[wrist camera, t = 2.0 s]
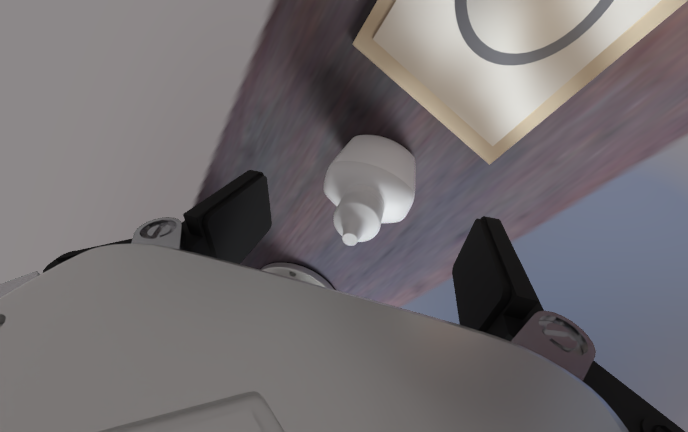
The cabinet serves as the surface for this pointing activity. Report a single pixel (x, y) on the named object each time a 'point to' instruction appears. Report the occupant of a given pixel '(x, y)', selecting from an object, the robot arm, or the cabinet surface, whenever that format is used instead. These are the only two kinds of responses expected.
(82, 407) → the robot arm
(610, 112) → the cabinet surface
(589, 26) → the cream flat rectangular panel
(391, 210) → the eye dropper bottle
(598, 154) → the cabinet surface
